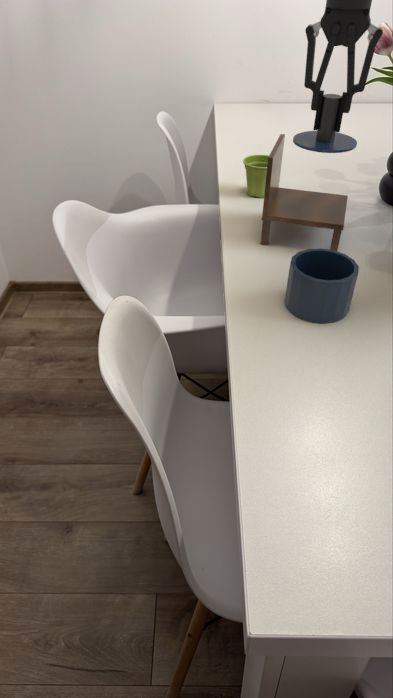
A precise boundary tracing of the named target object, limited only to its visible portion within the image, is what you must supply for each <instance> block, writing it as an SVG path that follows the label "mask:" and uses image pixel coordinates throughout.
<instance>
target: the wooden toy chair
mask: <svg viewBox="0 0 393 698" xmlns="http://www.w3.org/2000/svg"><path fill="white" fill-rule="evenodd" d="M285 138H286V134H285V133H280V134H279V136H278V138H277V140H276V142H275V144H274V146H273V148H272V150H270V153H269V154H268V155H269V157H268V164H267V174H266V184H265V194H264V197H263V205H262V215H261V220H262V226H261V234H260V235H261V236H260V245H264V246H268V245H269V243H270V234H271V226H272V225H271V224H272V222H275V223H283V224H290V225H297V226H305V227H312V228H313V227H314V228H321V229H327V230H333V231H332V236H331V242H330V246H329V250H334V251H337V252H338V251H339V250H338V249H339V245H340V241H341V235H342V232H343V231H344V228H345V227H344V226H345V220H346V213H347V205H348V199H349V198H348V197H349V195H347V194H337V193H329V192H320V191H311V190H305V189H304V190H303V189H295V188H285V187H280V180H281V179H280V178H281V172H282V164H283V163H282V162H283V157H284V156H283V155H284V147H285V146H284V145H285Z"/></svg>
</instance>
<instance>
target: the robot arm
mask: <svg viewBox="0 0 393 698" xmlns="http://www.w3.org/2000/svg"><path fill="white" fill-rule="evenodd" d="M325 1H326V2H325V9H324V13H323V15H322V16H321V17H320V20H319V21H318V22H315V23H310V24H308V25H307V26H306V27H305V29H304V30H305V37H306V39H307V48H306V60H305V72H304V83H303V84H304V85H303V86H304V88H305V89H309V90H310V91H312V95H311V96H312V97H311V104H310V109H311V111H315V116H314V124H313V128H312V131H317V129H318V123H319V117H320V111H321V105H322V99H323V95H325V90H322V85H323V82H324V79H325V76H326V73H327V70H328V67H329V65H330V61H331V57H332V54H333V52H334V49H335V47H340V46H342V47H345V48H347V57H346V58H347V59H346V60H347V62H346V63H347V64H346V91H343V92H342V95H341V96H342V99H341V105H340V110H339V116H338V121H337V126H336V132H337V133H341V126H342V121H343V115H344V114H349V113H350V111H351V107H352V101H353V97H354V95H355V94H357V93H362V92H364V90H365V87H366V84H367V80H368V77H369V73H370V68H371V66H372V62H373V57H374V54H375V50H376V46H377V44H378V43H379V41H380V39H381V38H382V36H383V34H384V30H383V27H380V26H379V27H378V26H376V25H375V24H373V23H372V21H371V20H372V19H371V16H370V15H371V14H370V12H371V8H372V3H373V0H325ZM320 30H322V32H323V34H324V36H325V39H326V41H327V45H326V48H325V52H324V55H323V58H322V60H321V64H320V67H319V70H318V73H317V77H316V80H315V81H314V80H313V77H314V76H313V75H314V65H315V55H316V46H317V45H316V43H317V38H318V37H319V35H320ZM366 32H368V34H367V39H368V41H369V42H368V44H367V49H366V53H365V56H364V57H365V58H364V60H363V64H362V68H361V72H360V76H359V81H358V83H355V72H356V71H355V69H356V67H355V66H356V43H358V41H359V40H360V39H361V38H362V36H363V35H365V33H366Z"/></svg>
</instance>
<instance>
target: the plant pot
mask: <svg viewBox="0 0 393 698" xmlns="http://www.w3.org/2000/svg"><path fill="white" fill-rule="evenodd" d="M269 155H270V154H252V155H248V156H245V157H243V160H242V163H243V165H244V169H245V176H246V177H245V178H246V190H247V194H248V196H250V197H256V198H259V199H260V198H264V194H265V184H266V174H267V164H268V157H269Z"/></svg>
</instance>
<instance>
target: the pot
mask: <svg viewBox="0 0 393 698" xmlns="http://www.w3.org/2000/svg"><path fill="white" fill-rule="evenodd" d="M359 271H360V266H359V265H358V263H357V262H356V261H355V259H353V258H352V257H351V256H349V255H348V254H346V253H343V252H340V251H338V250H337V251H334V250H330V248H329V249H328V248H323V247H321V248H308V249H304V250H301V251H297V252H296V253H295V254H293V256H291V259H290V263H289V269H288V276H287V282H286V283H287V284H286V289H285V295H284V306H285V307H286V309H287V310H288V312H289V313H290V314H292V315H293V316H294V317H296V318H298V319H300V320H303V321H306V322H309V323H313V324H332V323H337V322H339V321H341V320H342V319H344V318H345V317H346V316H347V315H348V313H349V312H350V308H351V304H352V300H353V295H354V292H355V289H356V284H357V280H358V276H359V273H360V272H359Z"/></svg>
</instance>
